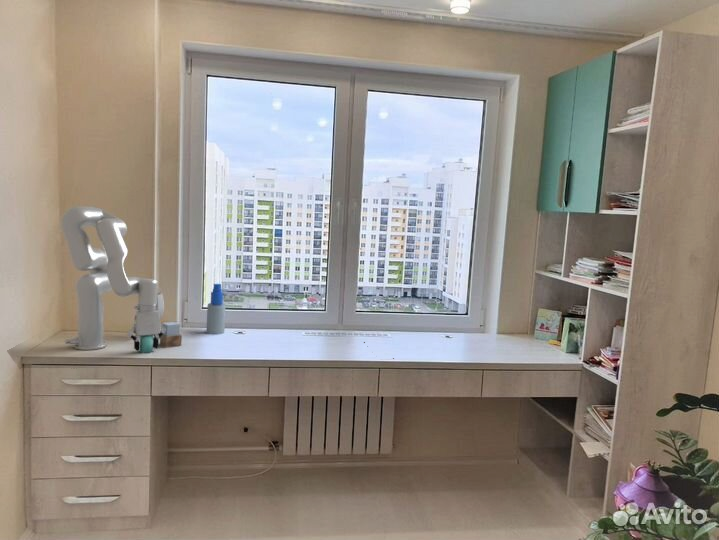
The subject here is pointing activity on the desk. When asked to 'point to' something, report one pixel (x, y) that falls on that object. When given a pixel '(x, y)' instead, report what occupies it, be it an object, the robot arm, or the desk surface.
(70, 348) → the desk surface
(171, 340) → the walnut base
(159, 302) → the wineglass
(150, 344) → the teal cylinder
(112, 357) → the desk surface
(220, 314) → the spray bottle
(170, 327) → the bluegrey cube
